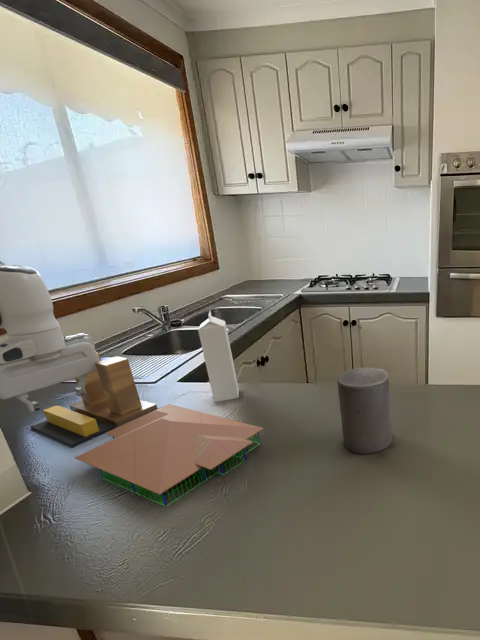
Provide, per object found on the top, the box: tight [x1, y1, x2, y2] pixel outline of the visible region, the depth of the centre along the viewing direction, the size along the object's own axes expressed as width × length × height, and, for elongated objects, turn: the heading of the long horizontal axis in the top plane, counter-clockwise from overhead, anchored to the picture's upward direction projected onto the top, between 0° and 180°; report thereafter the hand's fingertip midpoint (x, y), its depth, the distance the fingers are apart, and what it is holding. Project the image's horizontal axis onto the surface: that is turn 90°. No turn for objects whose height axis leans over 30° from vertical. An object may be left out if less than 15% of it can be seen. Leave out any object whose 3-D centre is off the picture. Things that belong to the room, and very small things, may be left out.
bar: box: [42, 405, 99, 437], centre depth 97 cm, size 18×3×3 cm, turn 59°
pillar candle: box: [336, 367, 393, 455], centre depth 80 cm, size 10×10×15 cm
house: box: [74, 403, 265, 508], centre depth 81 cm, size 23×33×8 cm
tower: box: [68, 351, 159, 428], centre depth 103 cm, size 22×10×14 cm, turn 59°
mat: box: [29, 419, 116, 448], centre depth 97 cm, size 20×9×1 cm, turn 59°
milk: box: [197, 310, 240, 403], centre depth 105 cm, size 6×6×22 cm
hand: (59, 402), depth 95 cm, fingers open, 8 cm apart
